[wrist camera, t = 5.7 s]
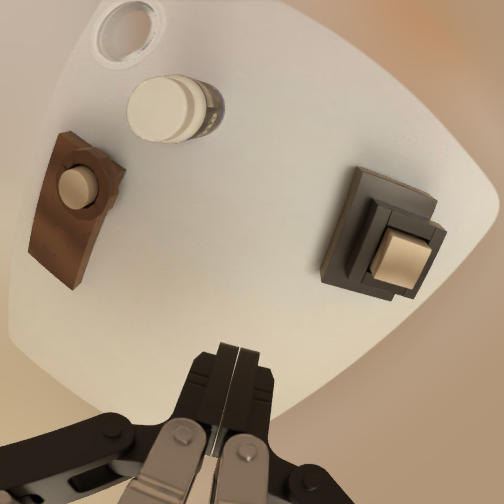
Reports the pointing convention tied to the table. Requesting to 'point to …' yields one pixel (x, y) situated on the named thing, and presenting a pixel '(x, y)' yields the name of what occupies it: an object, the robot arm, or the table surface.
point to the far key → (78, 187)
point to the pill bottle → (174, 109)
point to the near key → (400, 259)
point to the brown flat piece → (72, 210)
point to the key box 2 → (378, 233)
